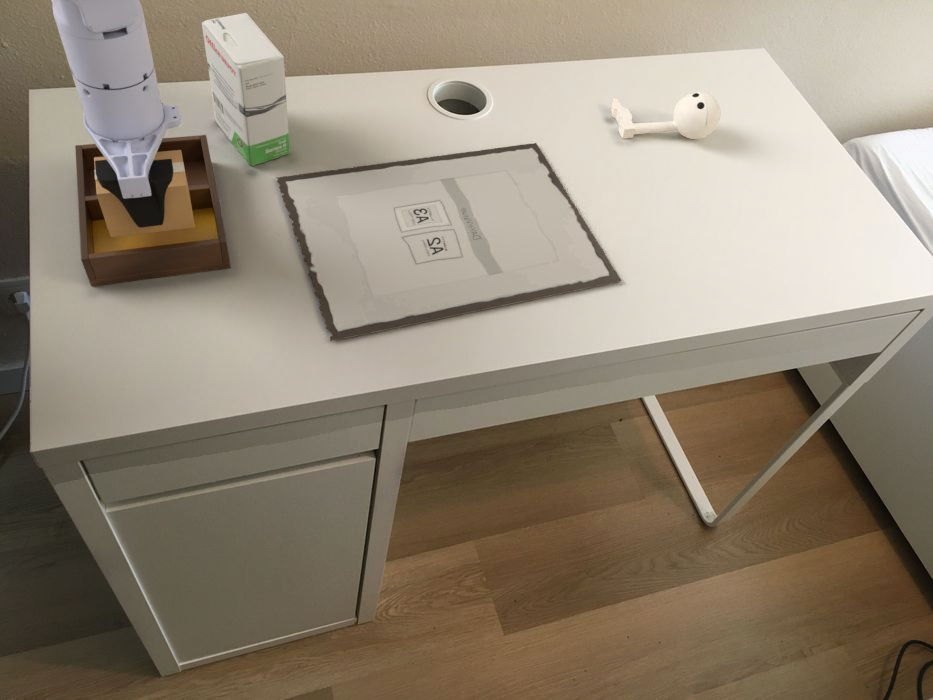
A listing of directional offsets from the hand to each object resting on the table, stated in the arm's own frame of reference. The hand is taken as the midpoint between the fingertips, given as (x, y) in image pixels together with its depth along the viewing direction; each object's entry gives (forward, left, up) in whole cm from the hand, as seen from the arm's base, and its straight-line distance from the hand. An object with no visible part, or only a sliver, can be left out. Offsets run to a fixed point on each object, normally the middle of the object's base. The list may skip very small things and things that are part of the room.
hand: (147, 203), depth 67 cm
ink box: (+7, +17, -6) cm, 19 cm away
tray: (-1, +3, -6) cm, 7 cm away
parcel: (0, 0, -1) cm, 1 cm away
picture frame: (+27, +4, -6) cm, 28 cm away
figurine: (+55, +25, -6) cm, 60 cm away
